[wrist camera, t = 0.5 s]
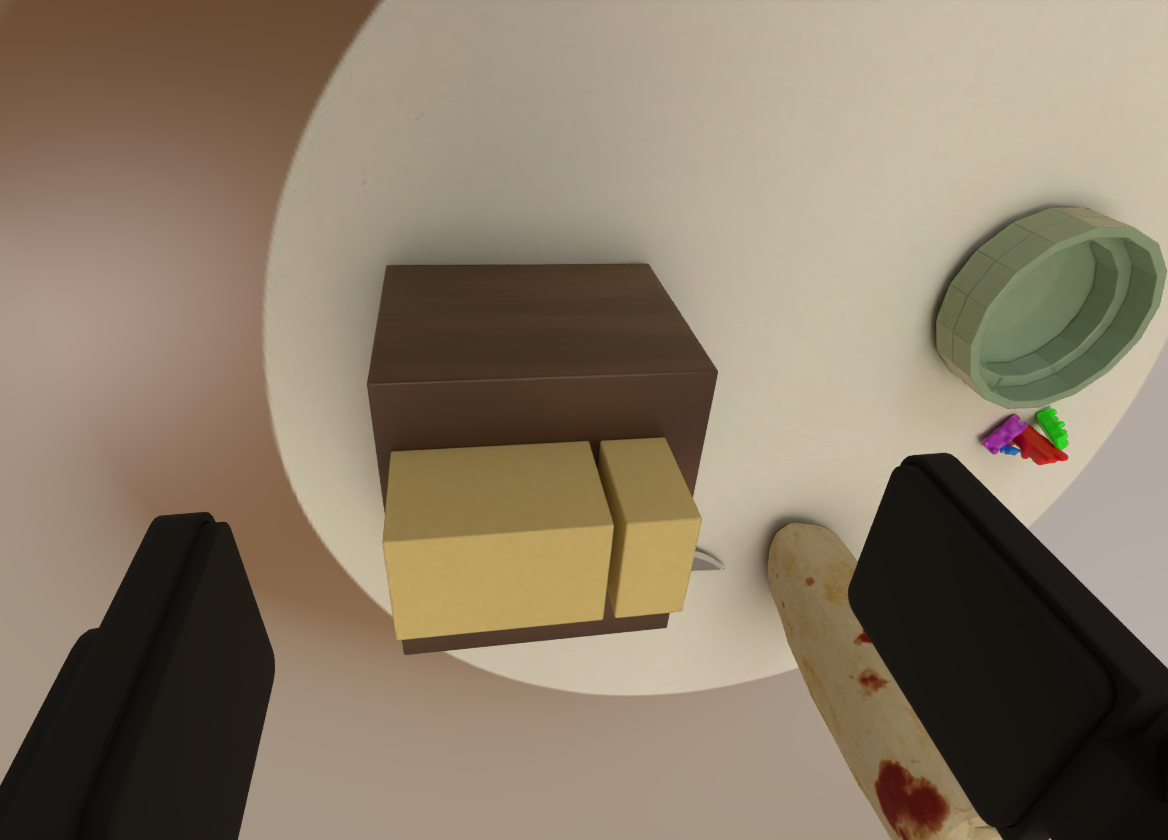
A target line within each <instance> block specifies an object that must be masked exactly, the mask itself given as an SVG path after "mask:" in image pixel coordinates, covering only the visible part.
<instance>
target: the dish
mask: <svg viewBox="0 0 1168 840" xmlns="http://www.w3.org/2000/svg"><path fill="white" fill-rule="evenodd" d="M1166 274H1167V269H1166V266H1165V263H1164V260H1163V256H1162V253H1161V250H1160V247H1159V244H1158V243H1157V242H1156V241H1154V240H1153V239H1151V238H1150V237H1148V236H1146V235H1145V234H1143V233H1142V232H1140V231H1139V230H1137V229H1136V228H1134V227H1132V226H1129V225H1127V224H1124V223H1122V222H1119V221H1117V220H1115V219H1112V218H1109V217H1107V216H1105V215H1102V214H1100V213H1098V212H1095V211H1093V210H1090V209H1088V208H1061V207H1053V208H1048V209H1046V210H1043V211H1041V212H1038V213H1035V214H1033V215H1030V216H1028V217H1025V218H1022V219H1020V220H1017V221H1015V222H1013V223H1011V224H1010V225H1008V226H1007V227H1006V228H1005V229H1003V230H1002V231H1001V232H999V233H998V234H997V235H995V236H994V237H993V238H991V239H990V240H989V241H987V242H986V243H985V244H984V245H982V246H981V247H980V248H978V249H977V251H975V253H974V254H973V255H972V256H971V258H970V259H969V260H968V261H967V263H966V264H965V265H964V267H963V268H962V269H961V270H960V272H959V273H958V274H957V276H956V277H955V278H954V279H953V281H952V282H951V285H949V288H948V290H947V293H946V295H945V298H944V300H943V303H942V305H941V308H940V311H939V313H938V316H937V319H936V346H937V351H938V352H939V354H940V355H941V357H942V359H943V360H944V362H945V363H946V365H947V367H948V368H949V370H950V371H951V372H953V373H954V374H955V375H956V376H957V377H958V378H960V379H961V380H962V381H963V382H964V383H966V384H967V385H968V386H969V387H970V388H972V389H973V390H974V391H975V392H976V393H977V394H979V395H980V396H981V397H982V398H983V399H986V400H988V401H990V402H993V403H995V404H997V405H1000V406H1002V407H1004V408H1007V409H1016V408H1036V407H1042V406H1045V405H1047V404H1050V403H1053V402H1055V401H1058V400H1061V399H1063V398H1066V397H1069V396H1072V395H1074V394H1076V393H1078V392H1079V391H1081V390H1082V389H1084V388H1085V387H1087V386H1088V385H1090V384H1091V383H1093V382H1094V381H1096V380H1097V379H1099V378H1100V377H1102V376H1103V375H1105V374H1106V373H1108V372H1109V371H1110V370H1111V369H1112V368H1113V367H1114V366H1115V365H1116V364H1117V363H1118V362H1119V361H1120V360H1121V359H1122V358H1123V357H1124V356H1125V355H1126V354H1127V353H1128V352H1129V351H1130V350H1131V348H1132V347H1133V346H1134V345H1135V344H1136V343H1137V342H1138V341H1139V340H1140V339H1141V337H1142V335H1143V334H1144V332H1145V330H1146V328H1147V327H1148V325H1149V323H1150V322H1151V320H1152V318H1153V316H1154V315H1155V313H1156V311H1157V310H1158V308H1159V305H1160V302H1161V297H1162V293H1163V288H1164V283H1165V279H1166Z"/></svg>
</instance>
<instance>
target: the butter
mask: <svg viewBox="0 0 1168 840" xmlns="http://www.w3.org/2000/svg"><path fill="white" fill-rule="evenodd" d="M613 530H614V524H613V520H612V517H611V514H610V510H609V507H608V504H607V500H606V497H605V494H604V490H603V487H602V484H601V480H600V477H599V474H598V470H597V467H596V464H595V460H594V457H593V454H592V450H591V447H590V444H589V441H580V442H561V443H542V444H523V445H504V446H485V447H466V448H447V449H428V450H409V451H392V452H391V457H390V468H389V478H388V489H387V499H386V510H385V521H384V531H383V542H382V544H383V551H384V558H385V565H386V571H387V578H388V585H389V592H390V599H391V606H392V613H393V620H394V627H395V634H396V639H397V640H405V639H415V638H425V637H435V636H445V635H455V634H465V633H475V632H485V631H495V630H505V629H515V628H525V627H535V626H545V625H555V624H565V623H575V622H585V621H595V620H602V619H603V614H604V606H605V598H606V589H607V581H608V572H609V564H610V556H611V547H612V539H613Z"/></svg>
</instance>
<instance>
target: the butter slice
mask: <svg viewBox="0 0 1168 840" xmlns="http://www.w3.org/2000/svg"><path fill="white" fill-rule="evenodd" d="M598 474H599V477H600V480H601V484H602V487H603V490H604V494H605V497H606V500H607V504H608V507H609V510H610V514H611V517H612V520H613V524H614V530H613V539H612V547H611V556H610V564H609V572H608V581H607V590H608V594H609V597H610V601H611V605H612V609H613V613H614V616H615V618H621V617H631V616H641V615H651V614H661V613H671V612H680V611H682V610H683V605H684V600H685V596H686V591H687V586H688V582H689V577H690V573H691V568H692V563H693V559H694V554H695V549H696V545H697V540H698V536H699V531H700V526H701V522H702V518H701V515H700V513H699V511H698V509H697V507H696V504H695V502H694V500H693V498H692V496H691V493H690V491H689V489H688V487H687V485H686V482H685V480H684V478H683V476H682V474H681V471H680V469H679V467H678V465H677V463H676V461H675V458H674V456H673V454H672V452H671V450H670V447H669V445H668V443H667V441H666V439H665V438H664V437H662V438H643V439H624V440H605V441H601V442H600V450H599V460H598Z"/></svg>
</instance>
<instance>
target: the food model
mask: <svg viewBox="0 0 1168 840" xmlns="http://www.w3.org/2000/svg"><path fill="white" fill-rule="evenodd" d="M857 563H858V562H857V560H856V559H855V557H854V556H853V555H852V553H851V552H850V551H849V550H848V548H847V547H846V546H845V544H844V543H843V542H842V541H841V540H840V539H839V538H838V537H837V536H836V535H835V534H834V533H832V532H831V531H830V530H829V529H827V528H824V527H821V526H817V525H810V524H802V523H789V524H788V525H786V526H785V527H784V528H782V529H781V530H780V531H779V532H777V533H776V535H775V537H774V539H773V541H772V544H771V547H770V550H769V558H768V579H769V586H770V592H771V594H772V596H773V599H774V601H775V603H776V606H777V609H778V612H779V615H780V618H781V620H782V623H783V627H784V630H785V634H786V637H787V641H788V644H789V646H790V648H791V651H792V653H793V655H794V657H795V660H796V662H797V664H798V666H799V669H800V671H801V673H802V675H803V678H804V680H805V683H806V685H807V687H808V690H809V692H810V695H811V697H812V698H813V700H814V702H815V704H816V706H817V708H818V710H819V712H820V714H821V715H822V717H823V719H824V721H825V723H826V725H827V726H828V728H829V730H830V732H831V734H832V736H833V737H834V739H835V741H836V743H837V745H838V747H839V749H840V751H841V753H842V755H843V757H844V759H845V761H846V763H847V764H848V767H849V768H850V770H851V772H852V774H853V776H854V778H855V780H856V781H857V783H858V785H859V787H860V788H861V790H862V791H863V793H864V795H865V796H866V798H867V799H868V801H869V802H870V804H871V805H872V807H873V809H874V810H875V812H876V814H877V816H878V817H879V819H880V821H881V823H882V824H883V826H884V828H885V829H886V831H887V833H888V835H889V836H890V838H891V840H1003V839H1002V838H1001V836H1000V835H999V833H998V831H997V830H996V828H995V827H991V826H989V825H988V824H986V823H985V822H984V821H983V820H982V819H981V818H980V816H979V815H978V814H977V812H976V811H975V809H974V807H973V806H972V804H971V803H970V801H969V799H968V798H967V796H966V794H965V793H964V791H963V790H962V788H961V786H960V785H959V783H958V782H957V780H956V778H955V777H954V775H953V773H952V772H951V770H950V769H949V767H948V765H947V764H946V762H945V760H944V759H943V757H942V756H941V754H940V752H939V751H938V749H937V748H936V746H935V744H934V743H933V741H932V739H931V738H930V736H929V735H928V733H927V731H926V730H925V728H924V726H923V725H922V723H921V722H920V720H919V718H918V717H917V715H916V714H915V712H914V710H913V709H912V707H911V705H910V704H909V702H908V701H907V699H906V697H905V696H904V694H903V692H902V691H901V689H900V688H899V686H898V684H897V683H896V681H895V680H894V678H893V676H892V675H891V673H890V671H889V670H888V668H887V667H886V665H885V663H884V662H883V660H882V658H881V657H880V655H879V654H878V652H877V650H876V649H875V647H874V646H873V644H872V642H871V641H870V639H869V637H868V636H867V634H866V633H865V631H864V629H863V628H862V626H861V625H860V623H859V621H858V620H857V618H856V616H855V615H854V613H853V611H852V609H851V607H850V604H849V600H848V587H849V584H850V581H851V579H852V576H853V574H854V571H855V568H856V566H857Z"/></svg>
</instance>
